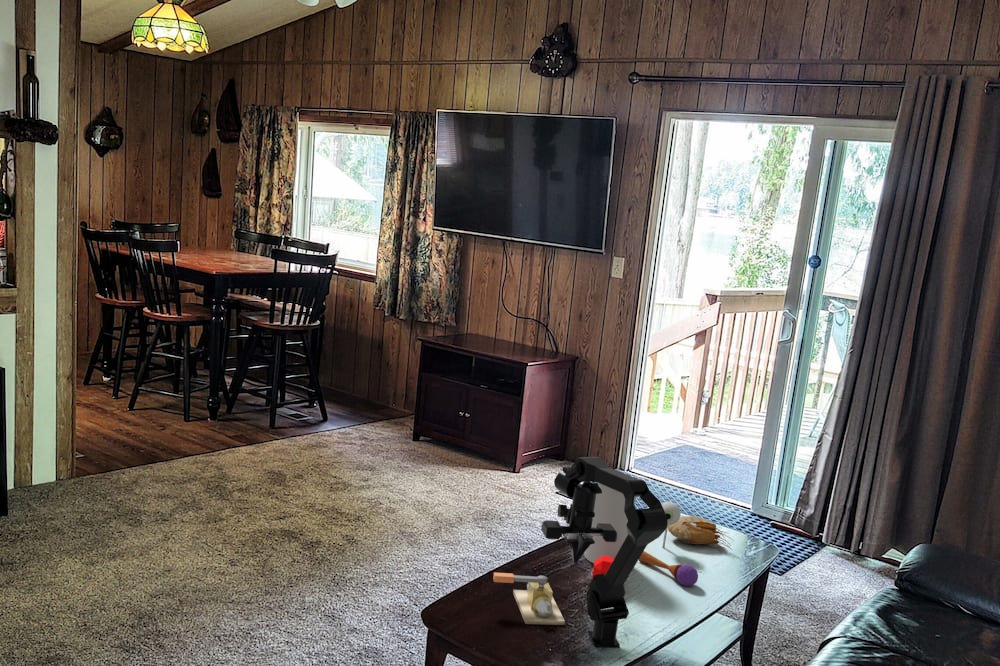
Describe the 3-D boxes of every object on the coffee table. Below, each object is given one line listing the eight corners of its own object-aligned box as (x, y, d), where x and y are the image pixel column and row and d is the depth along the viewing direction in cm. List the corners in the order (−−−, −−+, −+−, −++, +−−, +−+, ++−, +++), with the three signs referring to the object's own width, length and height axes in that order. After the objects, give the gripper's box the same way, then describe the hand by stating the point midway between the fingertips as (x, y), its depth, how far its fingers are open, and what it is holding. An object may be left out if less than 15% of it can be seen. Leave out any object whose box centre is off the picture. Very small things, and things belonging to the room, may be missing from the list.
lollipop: (650, 548, 270) (658, 503, 268) (653, 540, 277) (660, 496, 275) (673, 554, 269) (681, 508, 266) (675, 546, 275) (683, 501, 273)
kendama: (650, 546, 262) (704, 568, 247) (646, 566, 262) (699, 589, 247) (637, 546, 258) (691, 568, 243) (633, 565, 258) (687, 589, 243)
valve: (554, 620, 215) (557, 596, 214) (534, 620, 214) (538, 595, 213) (541, 594, 228) (544, 571, 227) (523, 593, 227) (526, 570, 226)
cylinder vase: (625, 571, 251) (638, 490, 247) (582, 563, 252) (594, 482, 249) (625, 555, 263) (638, 477, 259) (585, 547, 265) (596, 470, 261)
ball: (620, 582, 244) (624, 556, 242) (619, 594, 236) (623, 568, 235) (592, 576, 245) (596, 551, 244) (590, 588, 237) (594, 562, 236)
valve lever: (545, 580, 222) (546, 575, 221) (547, 585, 219) (548, 579, 219) (492, 577, 219) (493, 571, 219) (494, 582, 217) (495, 576, 217)
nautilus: (738, 550, 280) (720, 565, 268) (679, 525, 292) (658, 538, 280) (743, 528, 278) (725, 542, 266) (683, 504, 290) (663, 516, 278)
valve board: (564, 624, 214) (564, 621, 214) (525, 623, 212) (526, 620, 212) (549, 594, 230) (549, 591, 230) (513, 593, 228) (513, 589, 228)
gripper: (608, 495, 228) (600, 550, 230) (540, 491, 224) (532, 547, 227) (622, 511, 217) (612, 569, 220) (550, 507, 213) (542, 566, 216)
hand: (574, 562), depth 221 cm, fingers closed
